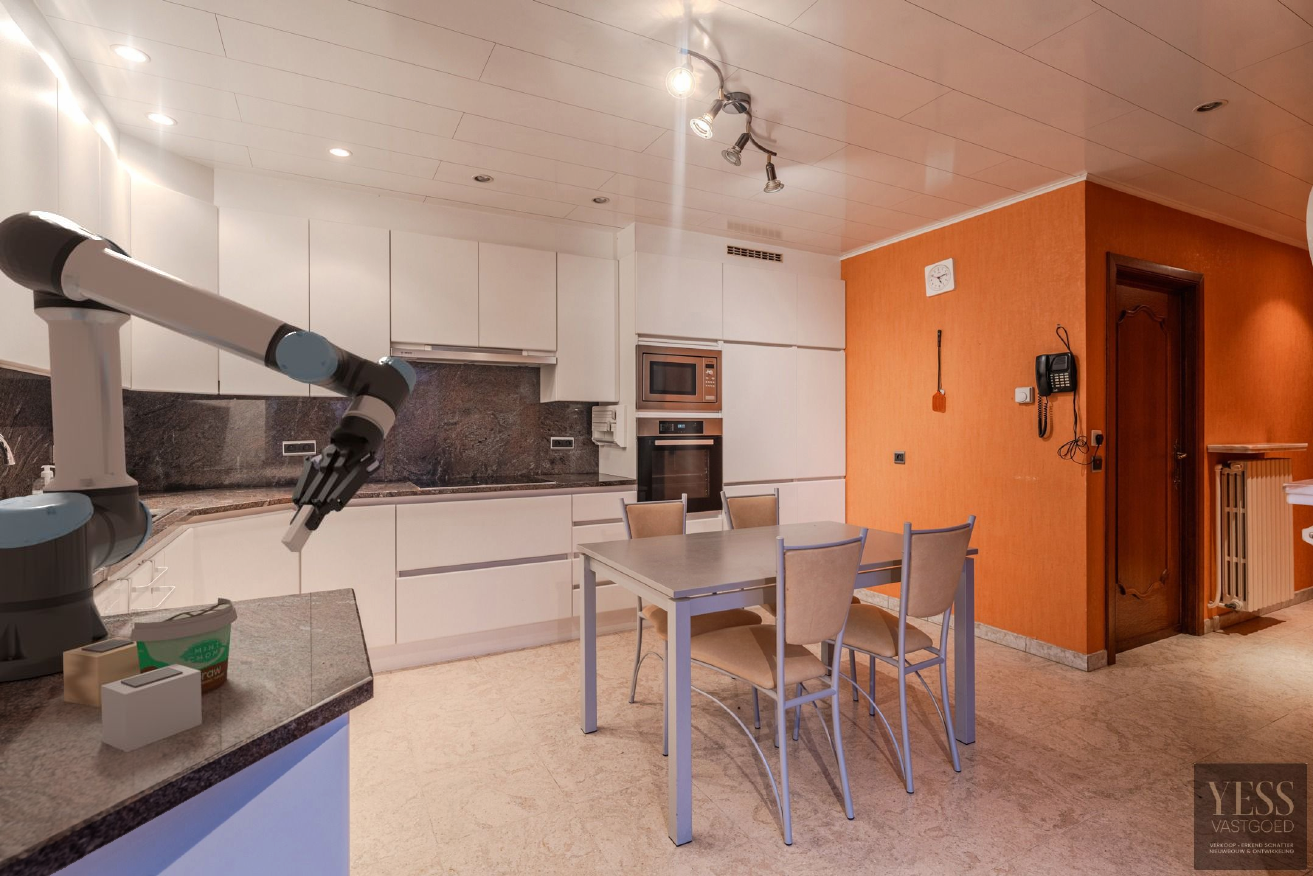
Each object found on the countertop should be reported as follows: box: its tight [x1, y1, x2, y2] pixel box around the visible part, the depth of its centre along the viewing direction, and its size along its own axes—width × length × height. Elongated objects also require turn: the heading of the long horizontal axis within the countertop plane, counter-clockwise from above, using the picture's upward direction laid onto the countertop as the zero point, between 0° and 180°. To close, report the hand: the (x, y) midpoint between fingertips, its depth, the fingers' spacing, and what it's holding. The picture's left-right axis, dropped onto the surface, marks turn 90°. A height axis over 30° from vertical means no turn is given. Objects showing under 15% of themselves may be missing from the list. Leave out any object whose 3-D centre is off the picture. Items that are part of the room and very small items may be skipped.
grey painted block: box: [101, 664, 203, 753], centre depth 69 cm, size 5×7×6 cm
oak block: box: [63, 636, 140, 708], centre depth 80 cm, size 6×6×6 cm
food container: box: [130, 597, 238, 696], centre depth 81 cm, size 12×6×10 cm, turn 167°
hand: (290, 546), depth 93 cm, fingers closed
